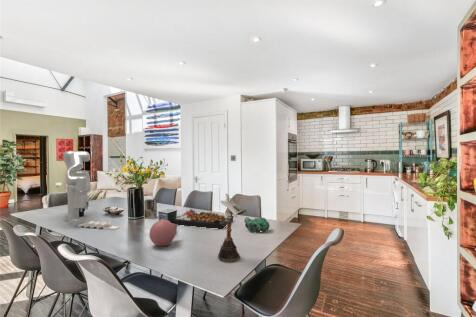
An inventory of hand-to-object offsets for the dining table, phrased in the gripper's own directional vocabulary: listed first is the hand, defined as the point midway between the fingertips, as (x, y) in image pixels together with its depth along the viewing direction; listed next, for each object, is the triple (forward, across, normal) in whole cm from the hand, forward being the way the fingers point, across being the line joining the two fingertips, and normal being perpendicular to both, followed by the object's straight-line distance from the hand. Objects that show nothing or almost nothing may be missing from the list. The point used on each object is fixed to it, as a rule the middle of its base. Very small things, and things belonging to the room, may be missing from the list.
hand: (81, 216), depth 182 cm
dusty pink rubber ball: (+8, +81, -18) cm, 83 cm away
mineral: (+8, +133, +21) cm, 135 cm away
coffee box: (+8, +36, +37) cm, 52 cm away
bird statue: (+8, +127, -29) cm, 130 cm away
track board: (+8, +9, 0) cm, 12 cm away
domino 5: (+7, +22, 0) cm, 22 cm away
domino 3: (+7, +10, 0) cm, 12 cm away
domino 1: (+7, -1, 0) cm, 7 cm away
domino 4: (+7, +16, 0) cm, 17 cm away
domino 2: (+7, +5, 0) cm, 8 cm away
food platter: (+9, +86, +32) cm, 92 cm away
